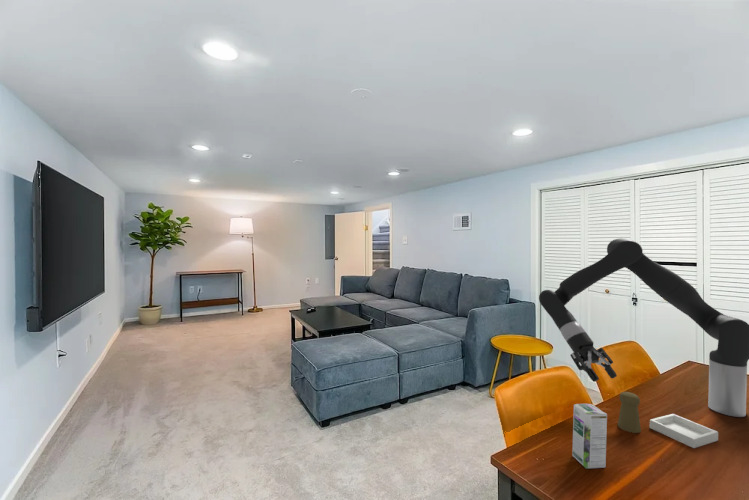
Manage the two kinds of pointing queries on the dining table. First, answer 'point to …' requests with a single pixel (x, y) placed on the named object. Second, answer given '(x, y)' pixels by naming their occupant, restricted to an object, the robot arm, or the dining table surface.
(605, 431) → the syrup box
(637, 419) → the cork
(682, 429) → the keeper tray
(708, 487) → the dining table surface
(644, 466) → the dining table surface
